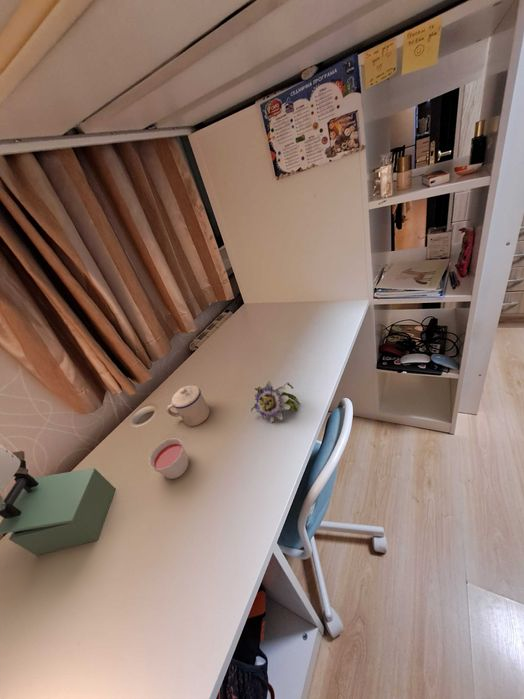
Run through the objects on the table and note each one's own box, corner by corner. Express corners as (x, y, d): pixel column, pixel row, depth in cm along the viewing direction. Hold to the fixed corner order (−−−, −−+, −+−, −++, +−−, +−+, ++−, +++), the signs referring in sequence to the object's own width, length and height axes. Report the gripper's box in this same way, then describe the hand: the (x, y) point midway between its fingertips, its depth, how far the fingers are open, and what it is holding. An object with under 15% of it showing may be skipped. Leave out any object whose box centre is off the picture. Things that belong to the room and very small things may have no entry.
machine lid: (-4, 534, 61) (-21, 522, 58) (30, 480, 72) (17, 467, 69) (73, 522, 61) (60, 508, 59) (96, 469, 72) (86, 456, 69)
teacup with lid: (210, 401, 95) (197, 375, 89) (210, 421, 87) (195, 394, 81) (176, 412, 95) (160, 387, 89) (173, 433, 88) (155, 407, 81)
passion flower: (277, 432, 84) (244, 417, 79) (279, 401, 91) (248, 385, 86) (304, 419, 77) (270, 401, 72) (304, 386, 84) (272, 367, 80)
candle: (156, 466, 79) (145, 453, 75) (186, 446, 82) (176, 432, 78) (166, 490, 72) (154, 476, 69) (197, 467, 75) (187, 453, 72)
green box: (36, 555, 67) (8, 539, 63) (62, 502, 78) (40, 485, 73) (97, 540, 66) (74, 522, 61) (115, 488, 77) (96, 469, 72)
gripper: (-25, 423, 63) (30, 470, 73) (-100, 500, 49) (-18, 546, 59) (6, 415, 63) (58, 463, 73) (-60, 489, 49) (16, 537, 58)
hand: (23, 500), depth 66 cm, fingers closed on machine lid, 6 cm apart
